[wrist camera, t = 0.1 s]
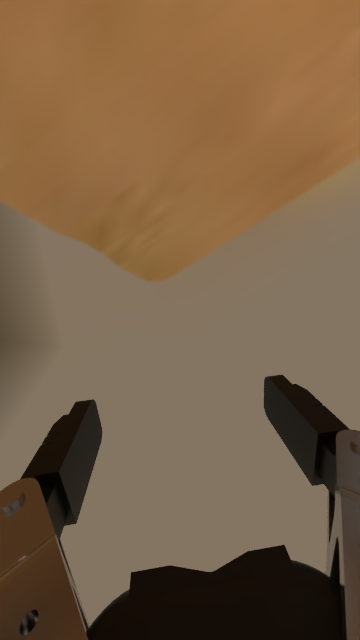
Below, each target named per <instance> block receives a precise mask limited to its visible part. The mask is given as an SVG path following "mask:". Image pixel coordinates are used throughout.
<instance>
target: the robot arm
mask: <svg viewBox="0 0 360 640" xmlns="http://www.w3.org/2000/svg"><path fill="white" fill-rule="evenodd" d="M264 409H265V413H266V415H267V417H268V419H269V421H270V422H271V424H272V425H273V427H274V428H275V430H276V431H277V433H278V434H279V436H280V437H281V439H282V440H283V442H284V443H285V445H286V447H287V448H288V450H289V451H290V453H291V454H292V456H293V457H294V459H295V460H296V462H297V463H298V465H299V466H300V468H301V469H302V471H303V472H304V474H305V475H306V477H307V478H308V480H309V482H310V483H311V485H312V486H313V485H320V484H324V485H325V486H326V487H327V489H328V513H327V514H328V516H327V517H328V518H327V519H328V520H327V524H328V525H327V562H326V574H324V573H322V572H321V571H319V570H317V569H315V568H313V567H311V566H309V565H306V564H304V563H300V562H297V561H293V560H291V559H290V557H289V555H288V553H287V550H286V548H285V546H284V545H281V546H276V547H270V548H264V549H259V550H254V551H248V552H246V553H244V554H243V555H241V556H239V557H238V558H236V559H234V560H232V561H231V562H229V563H227V564H226V565H224V566H222V567H221V568H219V569H217V570H216V571H213V572H204V571H199V570H192V569H186V568H181V567H175V566H165V567H159V568H153V569H148V570H143V571H137V572H131V580H130V589H129V590H128V591H126V592H124V593H123V594H121V595H120V596H119V597H118V598H116V599H115V600H114V601H113V602H111V604H110V605H108V606H107V607H106V608H105V609H104V610H103V611H102V613H101V614H100V615H99V616H98V617H97V618H96V619H95V621H94V622H93V624H92V625H91V626H89V623H88V620H87V617H86V614H85V612H84V609H83V606H82V603H81V600H80V597H79V594H78V591H77V589H76V586H75V583H74V579H73V576H72V574H71V570H70V567H69V565H68V562H67V559H66V555H65V552H64V549H63V546H62V544H61V541H60V536H61V533H62V530H63V527H64V526H65V525H71V524H76V523H77V519H78V516H79V513H80V510H81V506H82V503H83V500H84V496H85V493H86V490H87V487H88V483H89V480H90V476H91V473H92V470H93V466H94V463H95V460H96V457H97V453H98V450H99V446H100V444H101V439H102V427H101V422H100V419H99V414H98V410H97V406H96V403H95V401H94V400H87V401H79V402H76V403H75V404H74V406H73V408H72V409H71V411H70V413H69V415H63V416H62V417H61V418H60V419H59V420H58V421H57V422H56V423H55V424H54V425H53V426H52V428H51V430H50V431H49V433H48V435H47V437H46V438H45V440H44V441H43V443H42V446H40V448H39V449H38V451H37V453H36V454H35V456H34V457H33V459H32V461H31V463H30V464H29V466H28V467H27V469H26V471H25V472H24V474H23V476H22V477H21V479H20V480H18V481H16V482H13V483H12V484H10V485H8V486H7V487H5V488H4V489H3V490H1V491H0V640H360V431H357V430H350V429H349V428H348V427H347V426H346V425H344V424H343V423H342V422H341V421H340V420H339V419H338V418H337V417H336V416H335V415H334V414H333V413H332V412H330V411H329V410H328V409H327V408H326V407H325V406H323V405H322V403H320V401H319V400H317V399H316V398H315V397H314V396H313V395H312V394H311V393H310V392H309V391H308V390H306V389H304V388H302V387H301V386H299V385H297V384H291V383H290V382H289V381H288V380H287V379H286V378H285V377H284V376H283V375H276V376H269V377H265V380H264Z"/></svg>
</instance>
